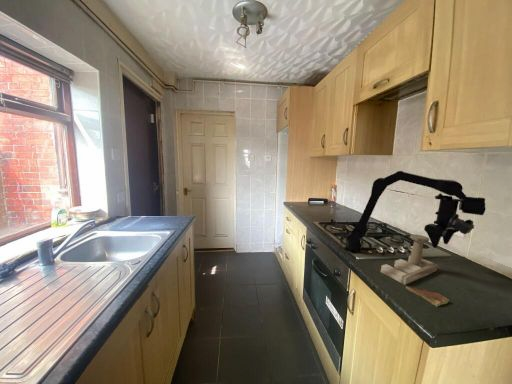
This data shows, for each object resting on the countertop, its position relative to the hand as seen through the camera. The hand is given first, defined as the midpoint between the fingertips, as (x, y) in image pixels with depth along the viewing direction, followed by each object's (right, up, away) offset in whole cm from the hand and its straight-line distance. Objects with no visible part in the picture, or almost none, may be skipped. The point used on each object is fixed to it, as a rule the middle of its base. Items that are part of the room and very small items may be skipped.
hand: (440, 245), depth 92 cm
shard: (-18, -15, -16) cm, 28 cm away
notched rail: (-12, -12, +2) cm, 17 cm away
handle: (-8, -11, +5) cm, 15 cm away
